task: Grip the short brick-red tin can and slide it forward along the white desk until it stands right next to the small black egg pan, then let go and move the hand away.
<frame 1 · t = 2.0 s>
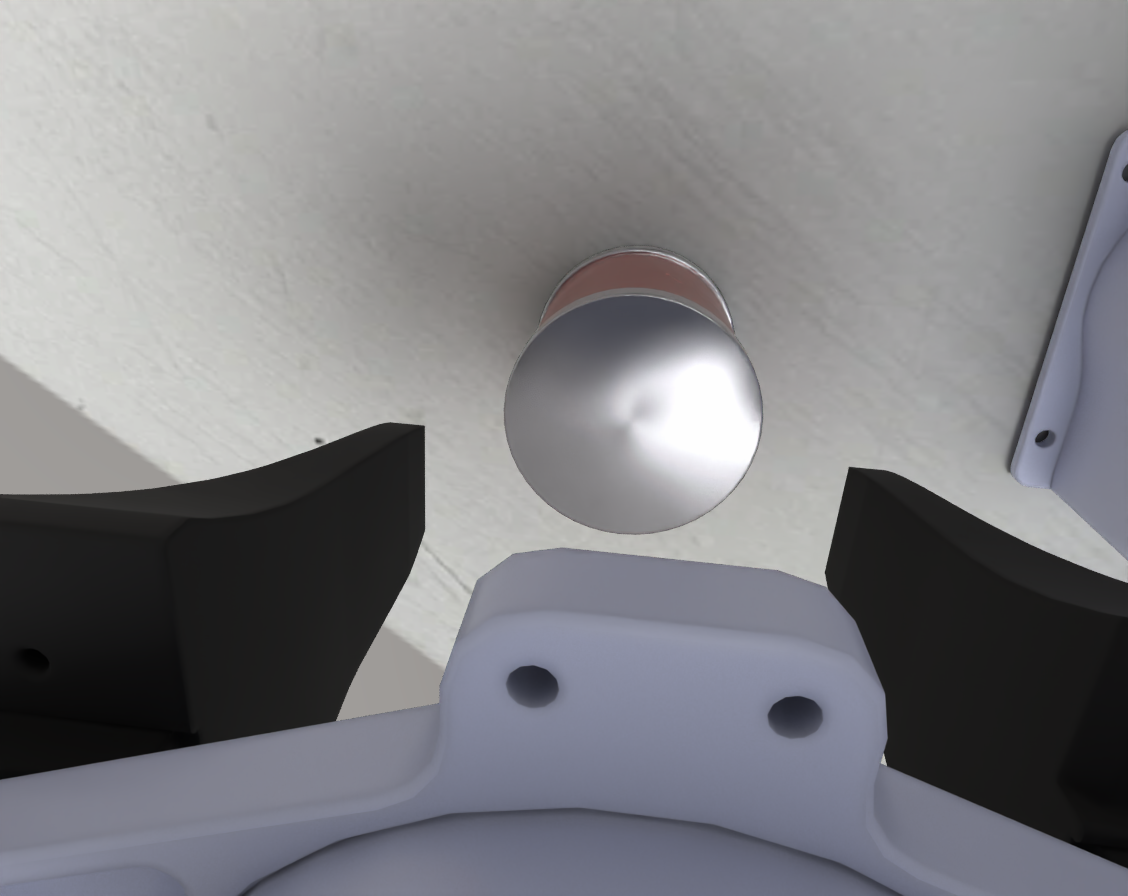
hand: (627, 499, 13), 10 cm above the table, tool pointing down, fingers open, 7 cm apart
tin can: (634, 343, 23), on the table
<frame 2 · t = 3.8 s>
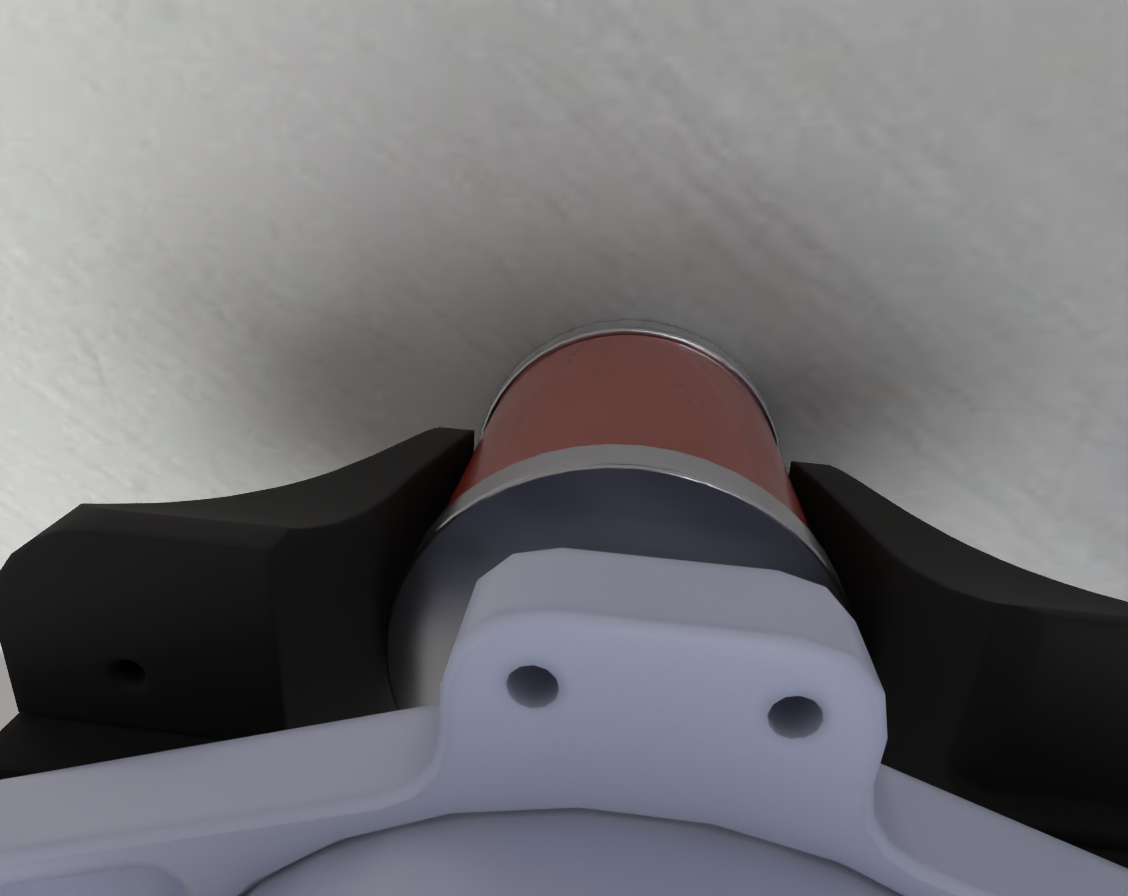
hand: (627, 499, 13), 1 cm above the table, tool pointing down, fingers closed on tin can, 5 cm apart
tin can: (627, 463, 15), on the table, touching gripper
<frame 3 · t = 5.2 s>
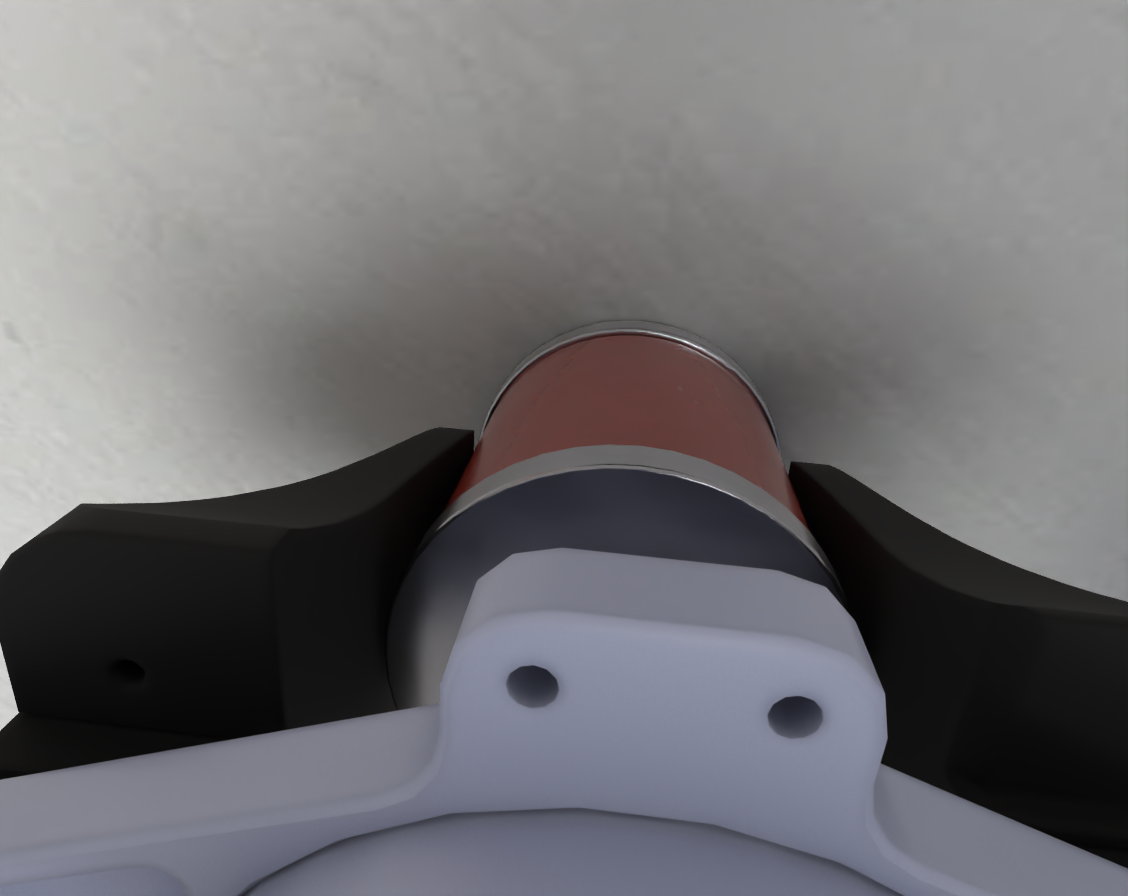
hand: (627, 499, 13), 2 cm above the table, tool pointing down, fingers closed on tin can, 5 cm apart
tin can: (626, 463, 15), on the table, touching gripper
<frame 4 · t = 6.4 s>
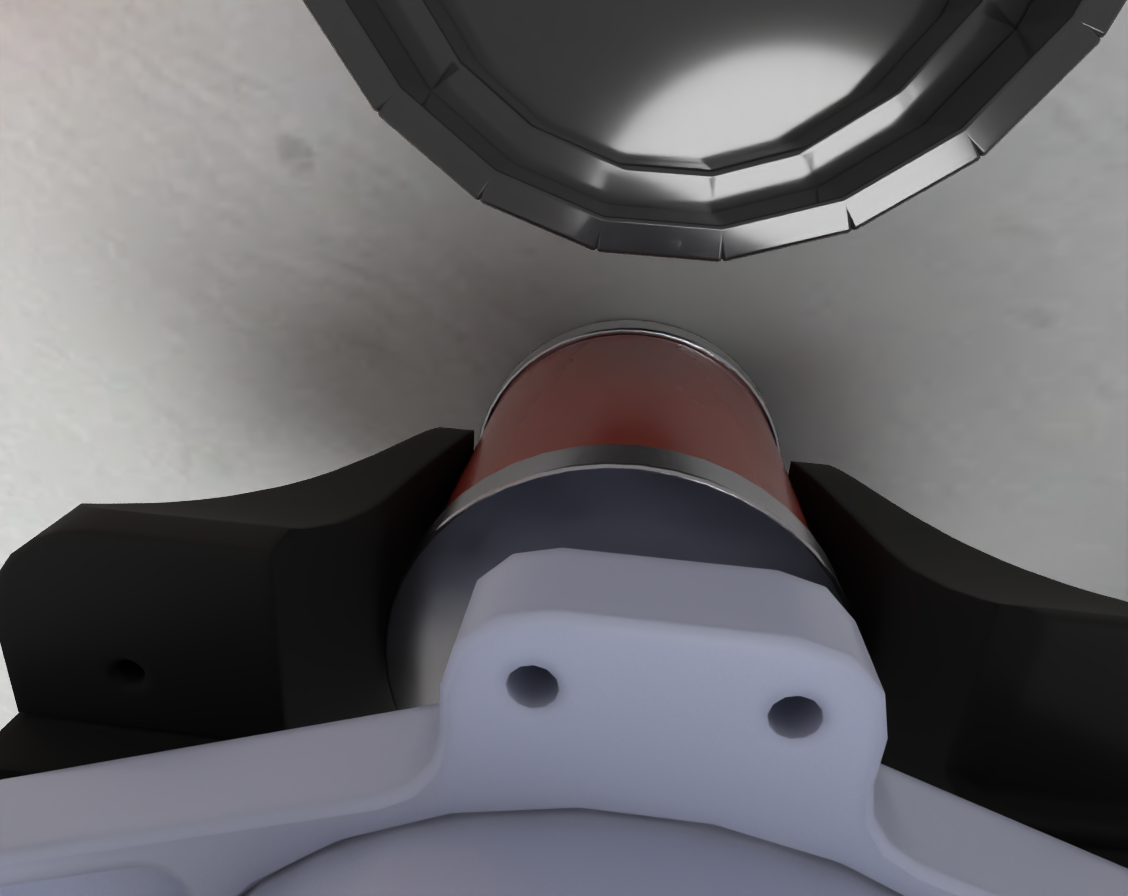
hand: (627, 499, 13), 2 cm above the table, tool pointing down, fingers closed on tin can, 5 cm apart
tin can: (626, 463, 15), on the table, touching gripper
when the fingers open (2 cm above the table, at t = 7.1 s): tin can stays where it is, on the table.
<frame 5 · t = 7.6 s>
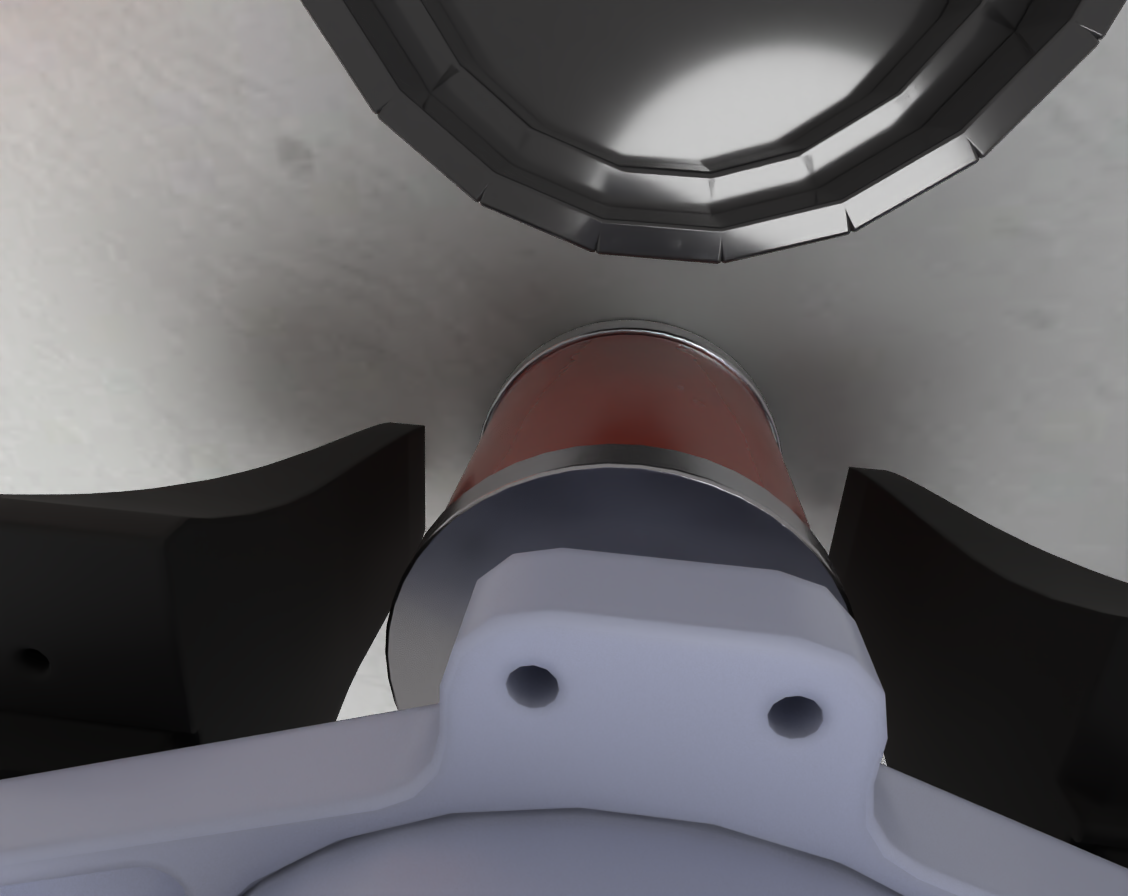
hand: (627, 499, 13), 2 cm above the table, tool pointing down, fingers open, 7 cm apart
tin can: (627, 463, 15), on the table
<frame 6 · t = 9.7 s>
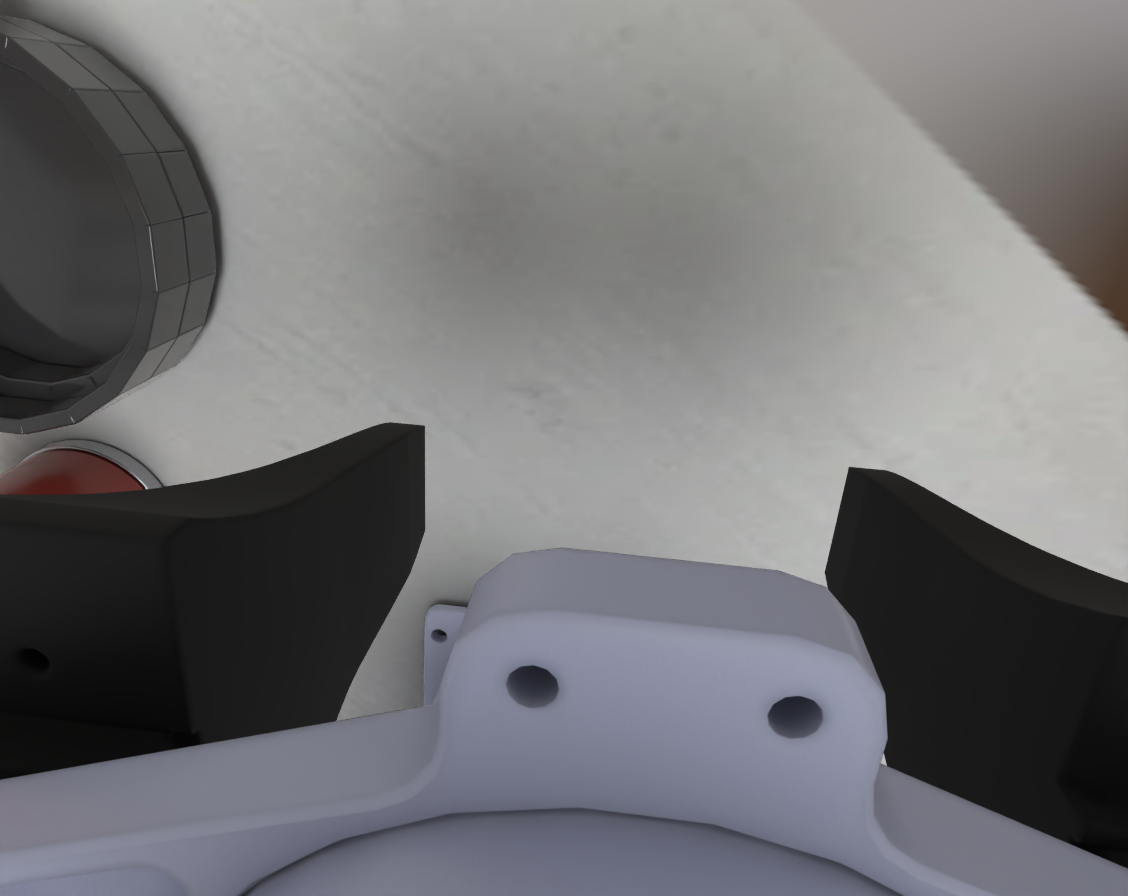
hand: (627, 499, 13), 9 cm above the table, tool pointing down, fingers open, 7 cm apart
tin can: (99, 516, 26), on the table
pan: (50, 221, 22), on the table
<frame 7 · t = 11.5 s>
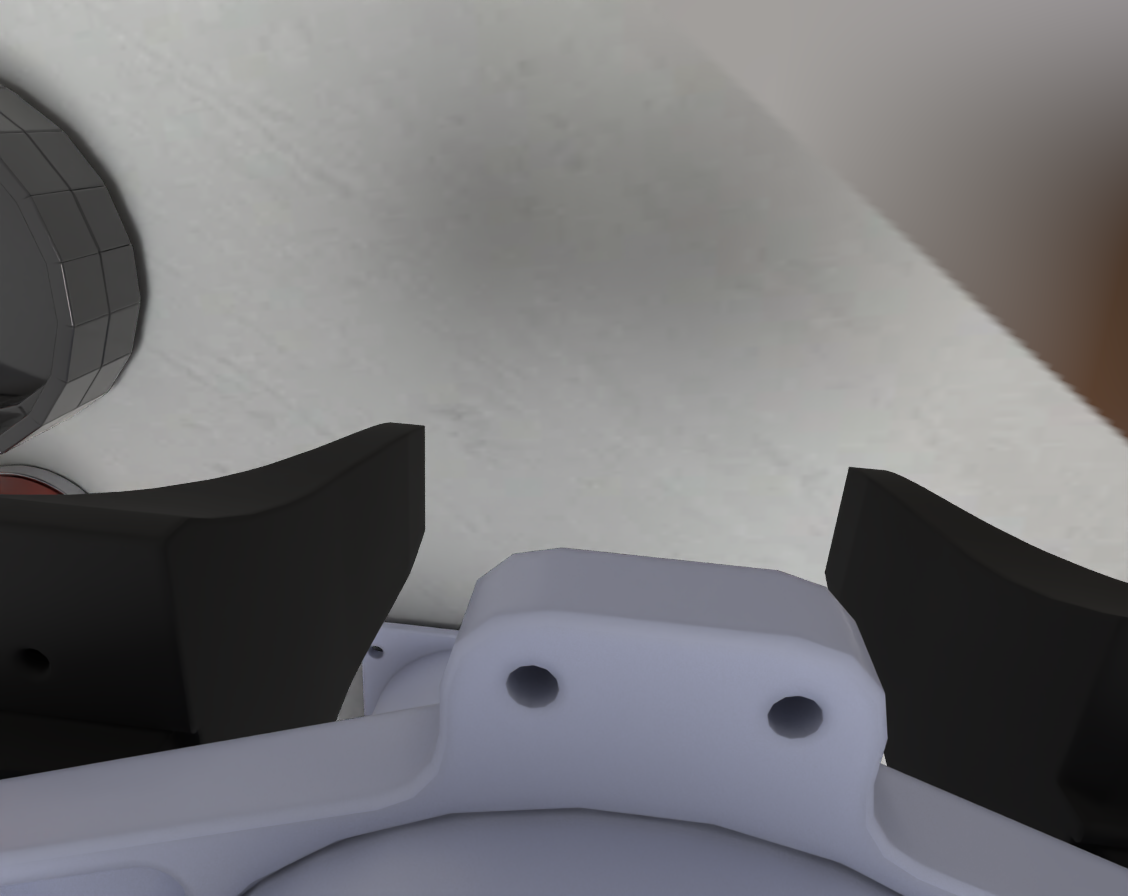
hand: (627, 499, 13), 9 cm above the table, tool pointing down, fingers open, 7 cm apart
tin can: (42, 539, 27), on the table
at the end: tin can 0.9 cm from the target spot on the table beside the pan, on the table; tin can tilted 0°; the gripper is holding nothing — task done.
